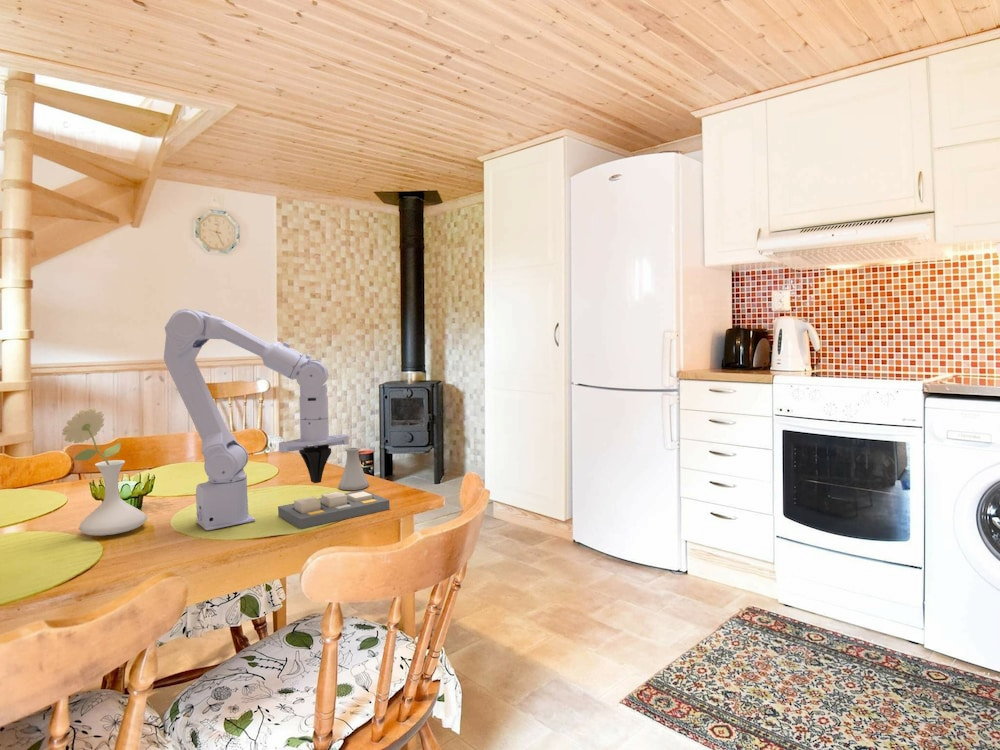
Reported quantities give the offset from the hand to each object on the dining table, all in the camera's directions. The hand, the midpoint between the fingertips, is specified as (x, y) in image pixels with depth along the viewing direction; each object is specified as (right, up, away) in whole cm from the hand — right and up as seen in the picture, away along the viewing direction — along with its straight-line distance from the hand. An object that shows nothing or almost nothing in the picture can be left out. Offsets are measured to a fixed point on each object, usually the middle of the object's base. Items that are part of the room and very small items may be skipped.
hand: (316, 482), depth 128 cm
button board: (+3, -7, +3) cm, 8 cm away
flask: (+2, -6, +24) cm, 25 cm away
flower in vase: (-38, -9, -8) cm, 40 cm away
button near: (-1, -6, -1) cm, 6 cm away
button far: (+8, -6, +7) cm, 12 cm away
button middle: (+3, -5, +3) cm, 7 cm away
